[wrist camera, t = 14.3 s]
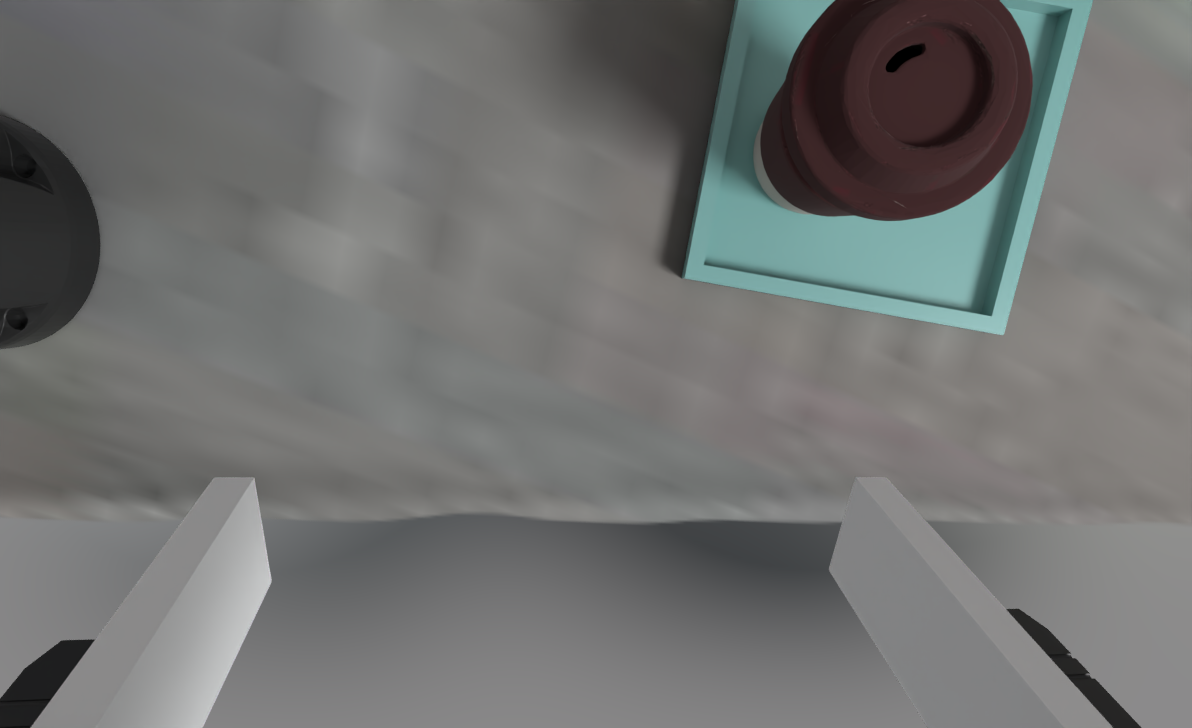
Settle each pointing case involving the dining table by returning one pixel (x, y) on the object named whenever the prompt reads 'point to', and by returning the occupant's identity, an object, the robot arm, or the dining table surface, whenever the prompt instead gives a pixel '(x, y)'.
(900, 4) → the coffee cup
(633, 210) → the dining table surface
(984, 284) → the tray
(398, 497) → the dining table surface
